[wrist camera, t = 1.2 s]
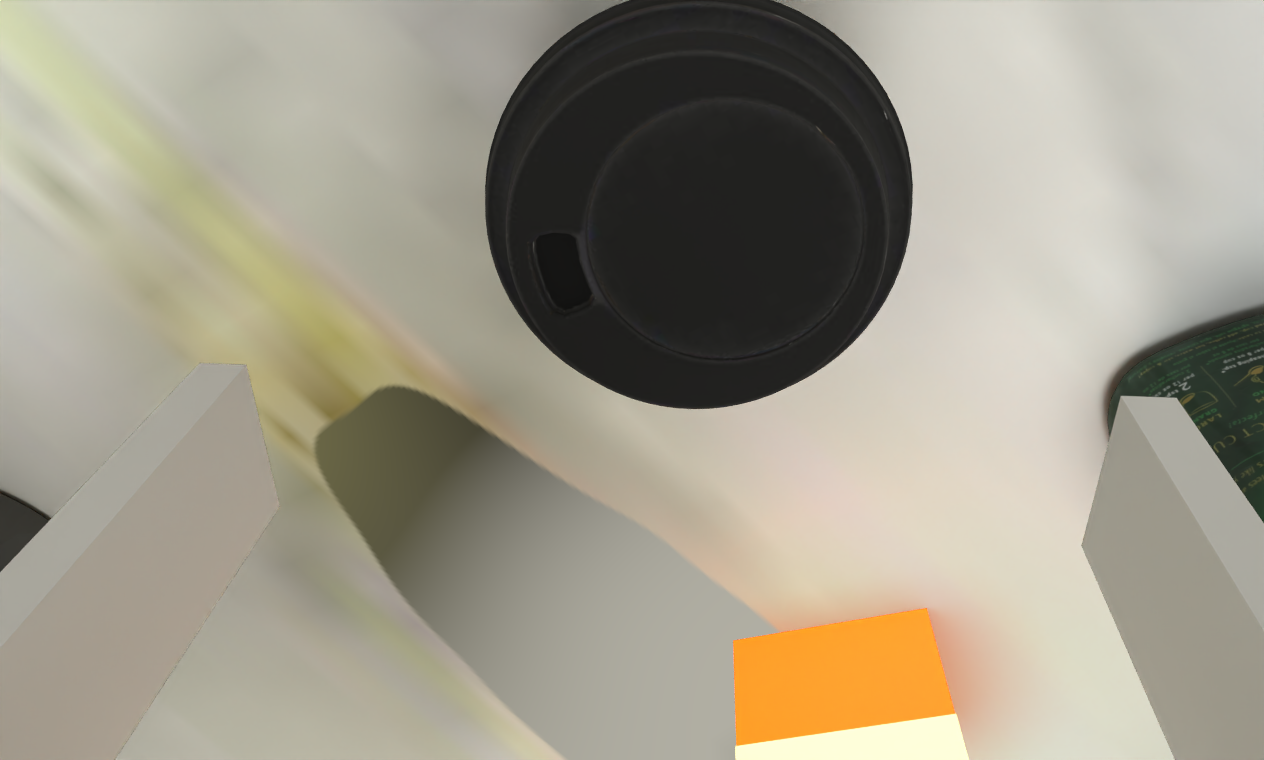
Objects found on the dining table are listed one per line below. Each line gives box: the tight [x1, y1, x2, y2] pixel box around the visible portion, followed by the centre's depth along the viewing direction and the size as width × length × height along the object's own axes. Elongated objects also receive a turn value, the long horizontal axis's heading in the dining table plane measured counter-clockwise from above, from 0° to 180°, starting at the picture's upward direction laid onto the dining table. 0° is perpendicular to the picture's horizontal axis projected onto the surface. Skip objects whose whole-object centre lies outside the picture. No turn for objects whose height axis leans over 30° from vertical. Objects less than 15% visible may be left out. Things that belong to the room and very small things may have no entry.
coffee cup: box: [485, 0, 913, 409], centre depth 27 cm, size 9×9×15 cm
